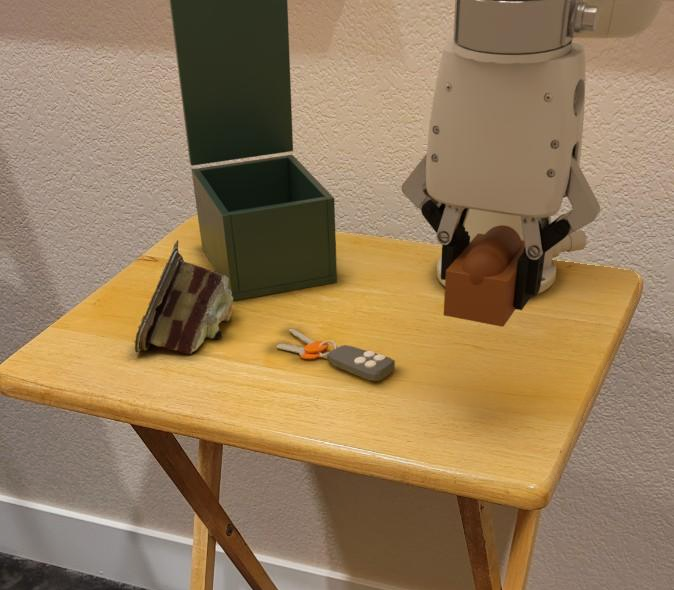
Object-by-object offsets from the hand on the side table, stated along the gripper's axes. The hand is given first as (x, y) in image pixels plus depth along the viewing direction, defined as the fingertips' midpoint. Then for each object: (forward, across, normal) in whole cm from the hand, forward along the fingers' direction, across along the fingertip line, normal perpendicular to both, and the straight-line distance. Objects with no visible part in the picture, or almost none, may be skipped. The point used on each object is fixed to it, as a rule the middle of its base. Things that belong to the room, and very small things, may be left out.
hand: (489, 293), depth 68 cm
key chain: (+11, +16, -3) cm, 19 cm away
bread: (+1, 0, 0) cm, 1 cm away
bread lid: (-6, +36, -24) cm, 44 cm away
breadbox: (+11, +32, -19) cm, 39 cm away
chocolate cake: (+11, +31, -2) cm, 33 cm away
